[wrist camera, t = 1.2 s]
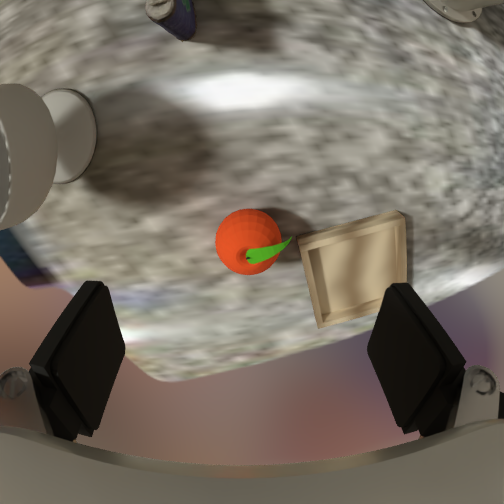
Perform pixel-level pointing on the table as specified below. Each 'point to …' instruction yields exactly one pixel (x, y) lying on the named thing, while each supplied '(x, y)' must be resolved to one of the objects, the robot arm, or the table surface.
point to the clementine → (249, 241)
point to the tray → (353, 266)
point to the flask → (174, 16)
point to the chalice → (40, 146)
